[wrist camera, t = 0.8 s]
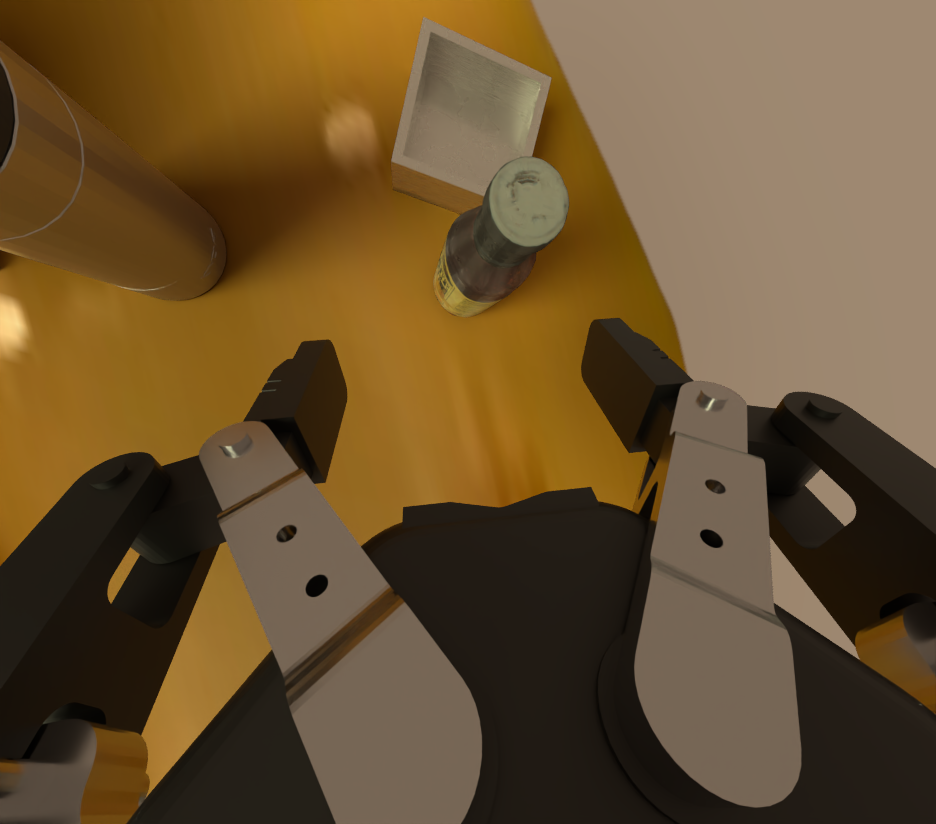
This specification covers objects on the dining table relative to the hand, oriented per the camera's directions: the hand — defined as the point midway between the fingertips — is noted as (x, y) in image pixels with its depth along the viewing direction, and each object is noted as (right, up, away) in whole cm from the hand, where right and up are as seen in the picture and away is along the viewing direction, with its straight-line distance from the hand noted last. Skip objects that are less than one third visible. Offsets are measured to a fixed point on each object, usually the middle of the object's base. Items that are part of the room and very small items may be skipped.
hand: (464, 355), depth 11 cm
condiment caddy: (0, +24, +23) cm, 33 cm away
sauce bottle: (-1, +11, +25) cm, 27 cm away
